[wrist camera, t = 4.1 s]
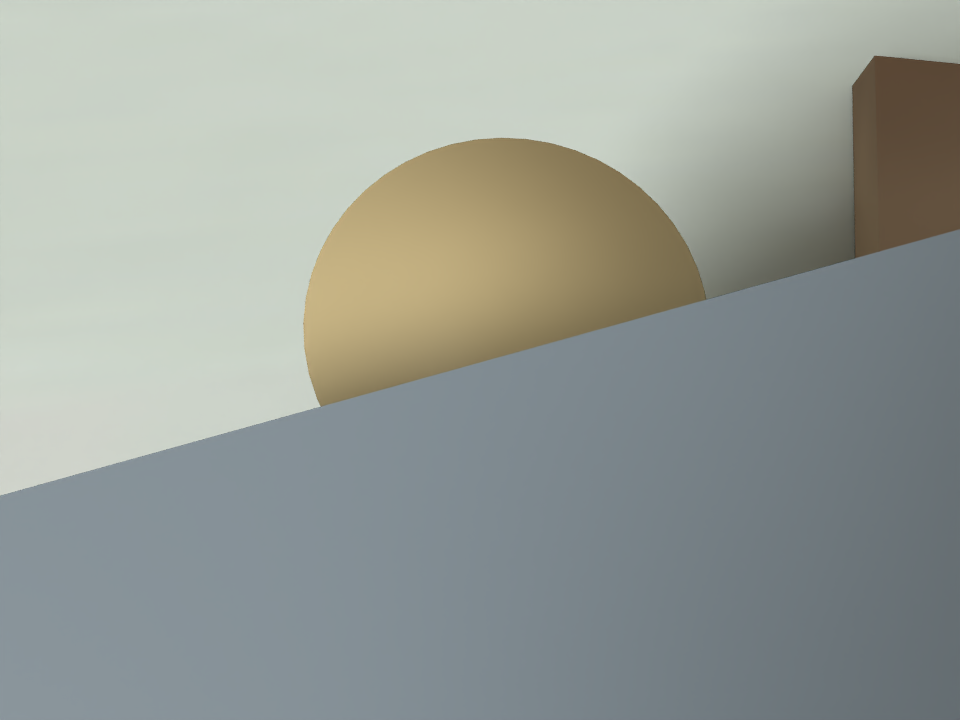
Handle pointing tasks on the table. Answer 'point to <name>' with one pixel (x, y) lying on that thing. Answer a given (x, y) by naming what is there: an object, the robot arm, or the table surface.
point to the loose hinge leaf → (530, 487)
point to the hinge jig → (905, 152)
